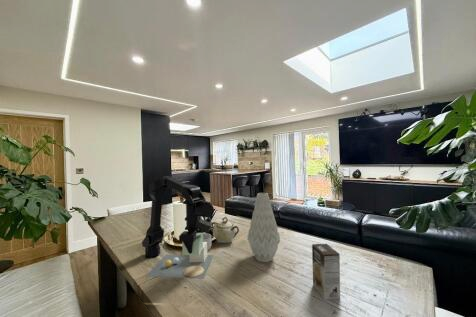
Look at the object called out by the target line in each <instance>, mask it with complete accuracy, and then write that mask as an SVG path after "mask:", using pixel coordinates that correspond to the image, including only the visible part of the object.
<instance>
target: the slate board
mask: <svg viewBox="0 0 476 317" xmlns="http://www.w3.org/2000/svg"><path fill="white" fill-rule="evenodd" d="M214 256H215V254H207V257H206V259H205V261H204V262H190V255H183V254H174V253H173V254H172V253H171V254H164V256H162V258H161V259H160V260H159V261H158V262H157V263H156V264H155V265H154V267H152V269H150V271H149V272H148V273H147V274H146V275H145V276H144V278H165V279H166V278H167V279H168V278H171V279H199V280H200V279H203V280H204V279H205V278H206V275H207V273H208V270H209V268H210V265H211V263H212V261H213V260H214ZM175 257H177V258H179V262H178V264H173V259H174V258H175ZM167 260H171V262H172V264H171V266H170V267H166V266H165V262H166V261H167ZM190 266H201V267H203V268H204V272H203V273H202V274H201V275H199V276H197V277H186V276H184V274H183V271H184V270H185V269H186V268H188V267H190Z"/></svg>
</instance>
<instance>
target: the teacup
mask: <svg viewBox="0 0 476 317" xmlns="http://www.w3.org/2000/svg"><path fill="white" fill-rule="evenodd" d="M202 233H203V242H207V252H209V250H210V249H211V248H212V234H210V233H207V232H205V231H203V232H202Z"/></svg>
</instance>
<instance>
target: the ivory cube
mask: <svg viewBox="0 0 476 317" xmlns="http://www.w3.org/2000/svg"><path fill="white" fill-rule="evenodd" d="M207 255H208V251H207V242H203V249H202V251H201V253H200V254H199V255H190V262H204V261H205V259H206V257H207Z"/></svg>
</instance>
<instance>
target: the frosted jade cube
mask: <svg viewBox="0 0 476 317" xmlns="http://www.w3.org/2000/svg"><path fill="white" fill-rule="evenodd" d="M203 233H204V232H200V233H196V240H195V241H194V242H193V249H192V253H191V254H190V253H189V252H188V250H187V248H186V246H185V245H184V243H183V242H182V241H181V243H182V244H181V245H182V246H181V248H182V255H199V254H200V253H201V251H202V249H203Z"/></svg>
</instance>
